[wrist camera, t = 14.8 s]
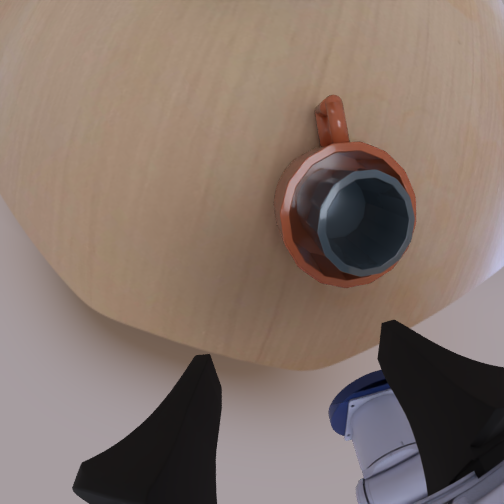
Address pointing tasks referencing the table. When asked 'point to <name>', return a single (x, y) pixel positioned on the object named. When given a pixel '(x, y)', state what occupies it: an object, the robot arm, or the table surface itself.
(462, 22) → the table surface
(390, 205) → the grey handleless cup
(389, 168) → the mug
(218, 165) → the table surface
